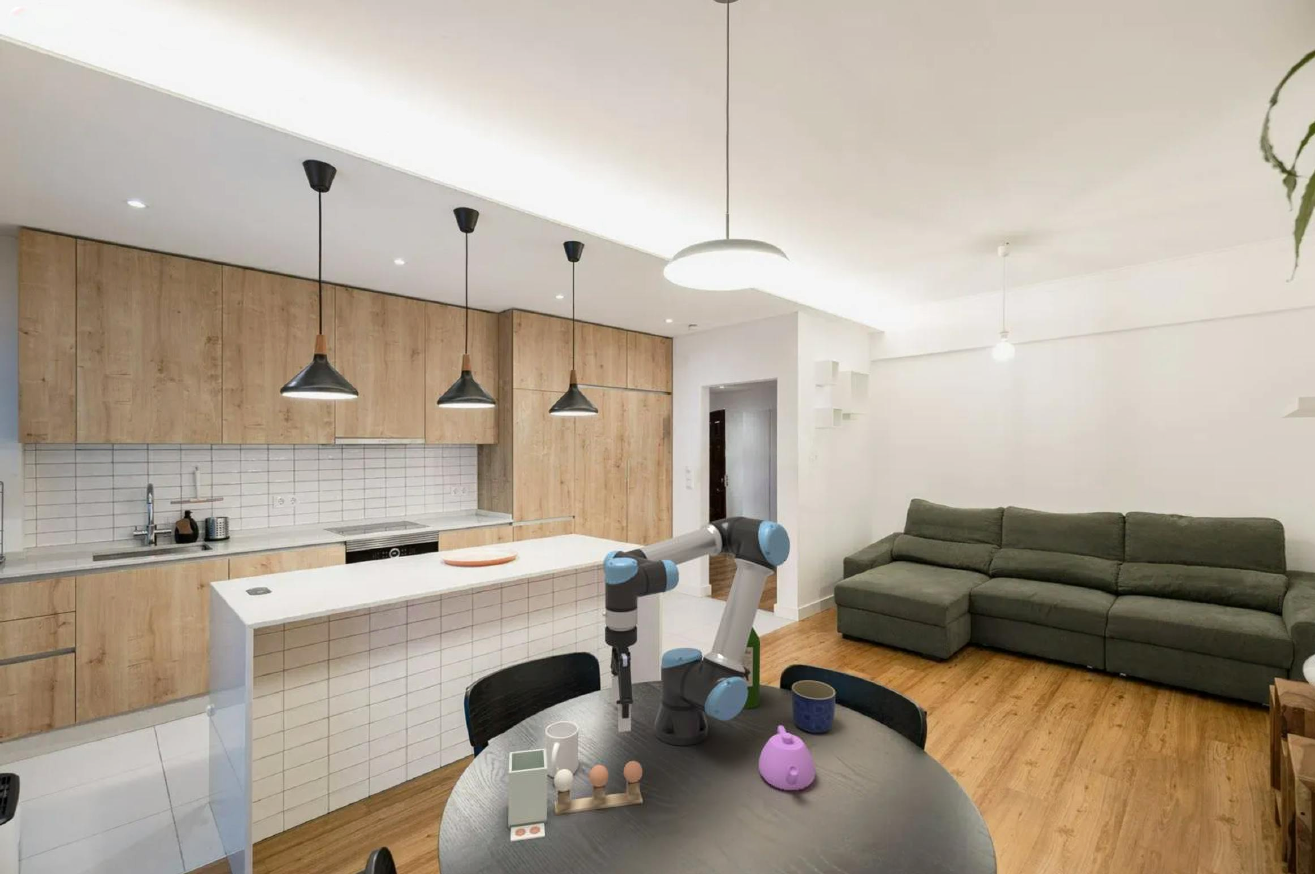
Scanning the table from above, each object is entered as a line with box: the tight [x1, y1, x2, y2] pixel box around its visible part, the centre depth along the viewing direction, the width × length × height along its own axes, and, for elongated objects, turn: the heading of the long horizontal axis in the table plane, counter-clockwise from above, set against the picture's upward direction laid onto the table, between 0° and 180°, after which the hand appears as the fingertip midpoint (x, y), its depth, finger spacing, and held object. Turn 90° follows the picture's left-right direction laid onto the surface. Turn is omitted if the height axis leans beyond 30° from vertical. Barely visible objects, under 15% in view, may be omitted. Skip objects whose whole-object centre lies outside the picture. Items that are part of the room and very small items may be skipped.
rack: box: [553, 779, 644, 816], centre depth 134 cm, size 20×4×4 cm, turn 103°
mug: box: [544, 720, 579, 778], centre depth 145 cm, size 12×8×10 cm
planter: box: [791, 679, 836, 734], centre depth 170 cm, size 12×12×11 cm
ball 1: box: [553, 769, 574, 791], centre depth 132 cm, size 4×4×4 cm
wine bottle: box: [742, 626, 761, 710], centre depth 185 cm, size 9×9×32 cm
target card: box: [510, 823, 546, 842], centre depth 124 cm, size 7×4×1 cm, turn 103°
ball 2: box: [588, 764, 609, 787], centre depth 134 cm, size 4×4×4 cm
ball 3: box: [623, 760, 643, 783], centre depth 136 cm, size 4×4×4 cm
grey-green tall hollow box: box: [507, 748, 548, 829], centre depth 130 cm, size 8×8×12 cm
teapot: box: [758, 725, 816, 791], centre depth 145 cm, size 14×20×11 cm
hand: (620, 715), depth 136 cm, fingers open, 13 cm apart
